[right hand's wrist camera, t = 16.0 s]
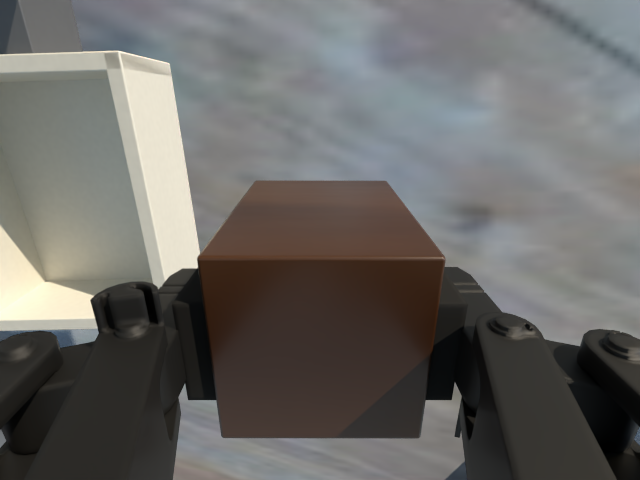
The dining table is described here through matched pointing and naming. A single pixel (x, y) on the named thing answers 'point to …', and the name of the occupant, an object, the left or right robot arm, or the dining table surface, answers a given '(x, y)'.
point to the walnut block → (321, 312)
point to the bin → (83, 171)
